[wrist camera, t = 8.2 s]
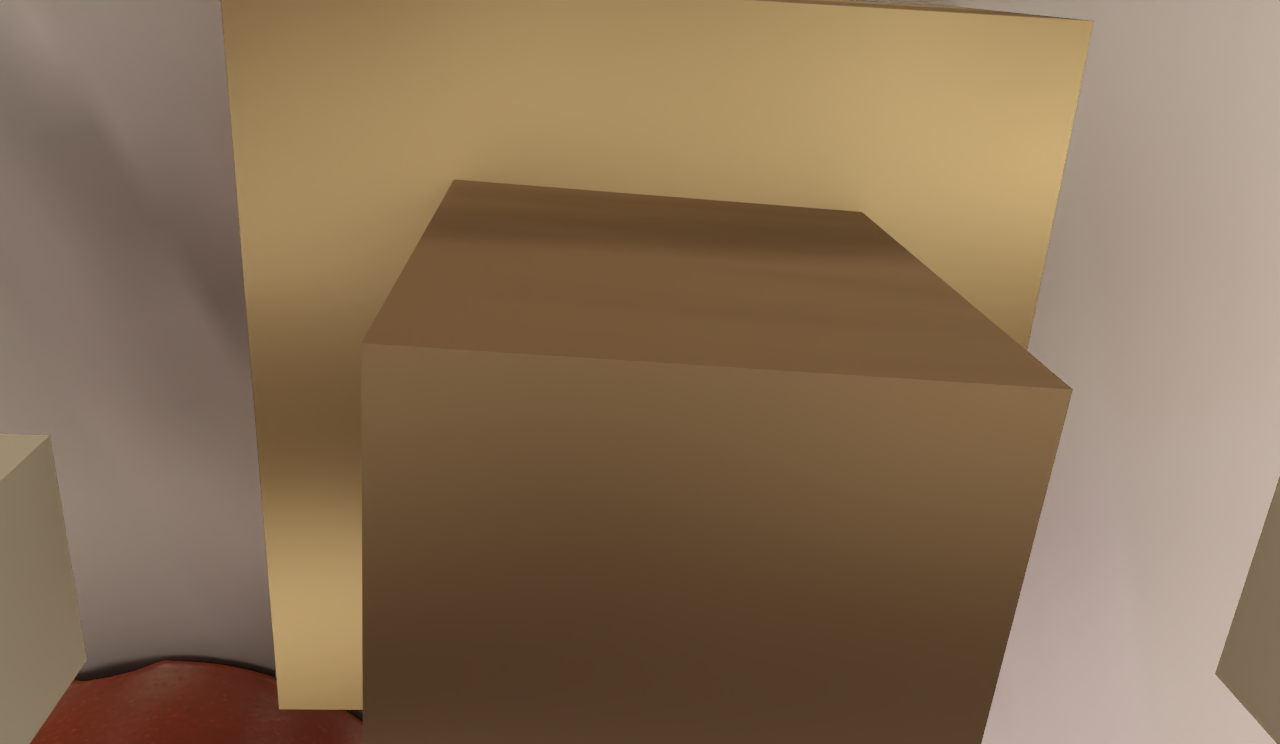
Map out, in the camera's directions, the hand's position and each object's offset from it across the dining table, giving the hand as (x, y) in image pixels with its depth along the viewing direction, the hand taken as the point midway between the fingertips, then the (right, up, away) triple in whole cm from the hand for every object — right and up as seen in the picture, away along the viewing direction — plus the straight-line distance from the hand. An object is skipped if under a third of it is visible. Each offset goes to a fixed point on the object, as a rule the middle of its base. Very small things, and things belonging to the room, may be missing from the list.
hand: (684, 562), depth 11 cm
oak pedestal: (-1, +4, +11) cm, 11 cm away
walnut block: (0, +2, +5) cm, 5 cm away
